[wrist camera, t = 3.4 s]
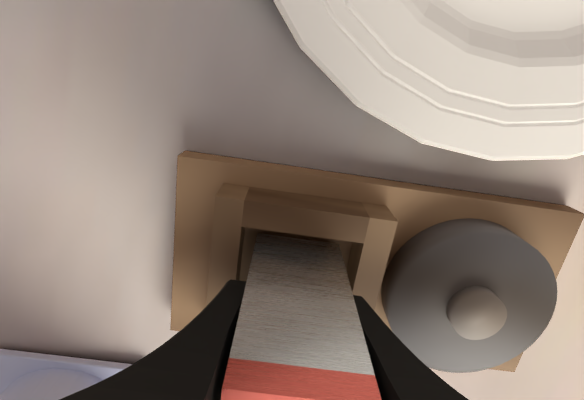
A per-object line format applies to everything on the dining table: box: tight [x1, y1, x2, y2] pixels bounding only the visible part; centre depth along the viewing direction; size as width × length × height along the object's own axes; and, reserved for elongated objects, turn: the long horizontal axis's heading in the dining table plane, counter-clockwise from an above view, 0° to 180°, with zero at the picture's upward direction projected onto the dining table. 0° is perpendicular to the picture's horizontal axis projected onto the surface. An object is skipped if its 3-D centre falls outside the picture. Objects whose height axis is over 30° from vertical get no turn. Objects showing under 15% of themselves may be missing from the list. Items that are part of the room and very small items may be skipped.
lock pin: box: [221, 233, 381, 400], centre depth 11 cm, size 3×3×7 cm
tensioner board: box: [170, 151, 584, 373], centre depth 15 cm, size 8×16×3 cm, turn 82°
